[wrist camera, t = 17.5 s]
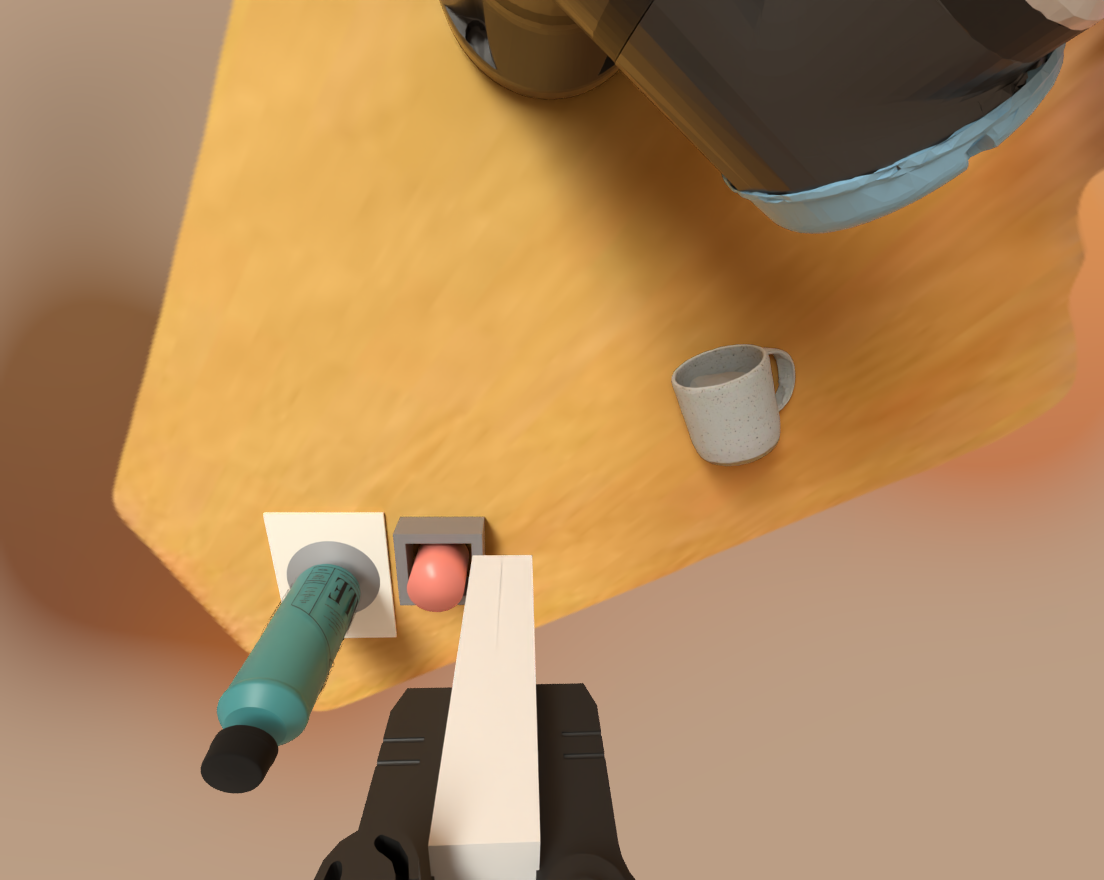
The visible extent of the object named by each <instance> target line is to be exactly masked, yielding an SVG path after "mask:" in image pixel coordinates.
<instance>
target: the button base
mask: <svg viewBox="0 0 1104 880" xmlns="http://www.w3.org/2000/svg"><path fill="white" fill-rule="evenodd" d="M393 539H394V549H395V559H396V569H397V579H398V589H399V599H400V605H415V604H414V603H413V602H412V601H411V599H410V598H409V596H408V593H407V583H408V580H409V577H410V574H411V571H412V568H413V565H414V562H415V560H414V548H413V544H440V543H471V546H472V556H473V555H485V521H484V517H400V519H399V521H398V524H397V526H396V528H395V531H394V533H393ZM468 582H469V577H466V582H465V588H464V594H463V597H462V599H461V601H460V602H459V603H458V604H457V605H465V601H466V595H467V588H468Z"/></svg>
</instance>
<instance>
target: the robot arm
mask: <svg viewBox="0 0 1104 880" xmlns="http://www.w3.org/2000/svg"><path fill="white" fill-rule="evenodd" d="M440 3H441V6H442V9H443V11H444V14H445V17H446V19H447V21H448V24H449V26H450V28H451V30H452V32H453V34H454V36H455V37H456V39H457V41H458V42H459V44H460V45H461V47H462V48H463V50H464V51H465V53H466V54H467V55H468V56H469V58H470V59H471V60H472V61H473V62H474V63H475V64H476V66H477V67H478V68H479V69H480V70H482V71H483V72H484V73H485V74H486V75H487V76H489V77H490V78H491V79H492V80H494V81H495V82H497V83H498V84H500V85H501V86H503V87H505V88H507V89H509V90H511V91H513V92H516V93H518V94H521V95H524V96H528V97H532V98H538V99H563V98H569V97H573V96H577V95H580V94H582V93H585V92H587V91H589V90H592V89H594V88H595V87H597V86H599V85H600V84H602V83H603V82H605V81H606V80H608V79H609V78H610V77H611V76H613V75H614V74H615V73H616V72H617V71H618V70H619V69H620V70H621V71H622V72H623V73H624V74H625V75H626V76H627V77H628V78H629V79H630V80H631V81H632V82H633V83H634V84H635V85H636V86H637V87H638V88H639V89H640V90H641V91H642V92H643V93H644V94H645V95H646V96H647V97H648V98H649V99H650V101H651V102H652V103H653V104H654V105H655V106H656V107H657V108H658V109H659V110H660V111H661V112H662V113H663V114H664V115H665V116H666V117H667V118H668V119H669V120H670V121H671V122H672V123H673V124H674V125H675V126H676V127H677V128H678V129H679V130H680V131H681V132H682V133H683V134H684V135H685V136H686V137H687V138H688V139H689V140H690V141H691V142H692V143H693V144H694V145H695V146H696V147H697V148H698V150H699V151H700V152H701V153H702V154H703V155H704V156H705V157H706V158H707V159H708V160H709V161H710V162H711V163H712V164H713V165H714V166H715V167H716V168H717V169H718V170H719V171H720V172H721V174H722V177H723V179H724V181H725V183H726V184H727V185H728V187H729V188H730V189H731V190H732V191H733V192H735V193H738V194H739V195H740V196H741V197H743V198H746V199H749V200H750V201H751V202H752V203H753V204H754V205H756V206H757V207H758V208H759V209H760V210H761V211H762V212H763V213H764V214H765V215H766V216H768V217H769V218H770V219H771V220H772V221H773V222H774V223H776V224H777V225H779V226H782V227H784V228H786V229H788V230H791V231H795V232H799V233H816V234H817V233H828V232H834V231H840V230H844V229H848V228H852V227H855V226H859V225H862V224H865V223H868V222H870V221H873V220H876V219H878V218H881V217H883V216H886V215H888V214H890V213H893V212H895V211H897V210H899V209H901V208H903V207H905V206H907V205H909V204H911V203H913V202H915V201H917V200H919V199H921V198H923V197H924V196H926V195H928V194H930V193H931V192H933V191H935V190H936V189H938V188H940V187H941V186H943V185H944V184H946V183H947V182H949V181H950V180H952V179H953V178H955V177H956V176H958V175H959V174H961V173H962V172H964V171H965V170H966V169H967V167H968V164H969V163H968V160H969V158H970V157H972V156H974V155H976V154H978V153H980V152H982V151H985V150H989V149H992V148H995V147H997V146H998V145H999V144H1001V143H1002V142H1003V141H1004V140H1005V139H1006V138H1008V137H1009V136H1010V135H1011V134H1012V133H1013V132H1014V131H1015V130H1016V129H1017V128H1018V127H1019V126H1020V125H1022V124H1023V123H1024V122H1025V120H1026V119H1027V118H1028V117H1029V116H1030V115H1031V114H1032V113H1033V112H1034V110H1035V109H1036V108H1037V107H1038V105H1039V104H1040V102H1041V101H1042V100H1043V99H1044V97H1045V96H1046V95H1047V93H1048V92H1049V91H1050V89H1051V88H1052V87H1053V85H1054V83H1055V81H1056V78H1057V76H1058V74H1059V72H1060V69H1061V66H1062V63H1063V57H1064V48H1065V44H1066V42H1068V41H1069V40H1071V39H1072V38H1074V37H1075V36H1077V35H1079V34H1080V33H1082V32H1083V31H1085V30H1087V29H1088V28H1090V27H1091V26H1093V25H1095V24H1096V23H1098V22H1099V21H1101V20H1102V19H1104V0H440ZM535 677H536V674H535V640H534V605H533V570H532V555H473V556H472V562H471V569H470V575H469V582H468V588H467V595H466V601H465V608H464V615H463V621H462V628H461V634H460V641H459V647H458V654H457V660H456V667H455V673H454V680H453V686H452V688H410V689H409V688H408V689H407V690H406V691H405V693H404V694H403V696H402V697H401V698H400V699H399V701H398V702H397V704H396V705H395V706H394V708H393V709H392V710H391V712H390V716H389V720H388V723H387V727H386V730H385V734H384V738H383V743H382V745H381V749H380V752H379V756H378V760H377V766H376V767H375V771H374V774H373V778H372V782H371V785H370V790H369V793H368V797H367V801H366V804H365V808H364V811H363V816H362V818H361V822H360V826H359V830H358V831H356V832H355V833H353V834H351V835H350V836H348V837H347V838H345V839H343V840H342V841H340V842H339V843H338V845H337V846H336V847H335V848H334V849H333V850H332V851H331V852H330V854H329V855H328V856H327V857H326V858H325V859H324V860H323V862H322V864H321V866H320V868H319V871H318V873H317V874H316V877H315V879H314V880H635V878H634V877H633V876H632V875H631V873H630V872H629V870H628V868H627V866H626V864H625V862H624V860H623V858H622V855H621V851H620V848H619V844H618V838H617V832H616V826H615V819H614V813H613V806H612V799H611V793H610V787H609V780H608V774H607V767H606V761H605V758H604V748H603V741H602V736H601V729H600V722H599V716H598V709H597V705H596V703H595V701H594V700H593V698H592V697H591V695H590V693H589V692H588V690H587V689H586V687H585V685H584V684H583V683H582V684H581V683H580V684H536V678H535Z"/></svg>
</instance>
